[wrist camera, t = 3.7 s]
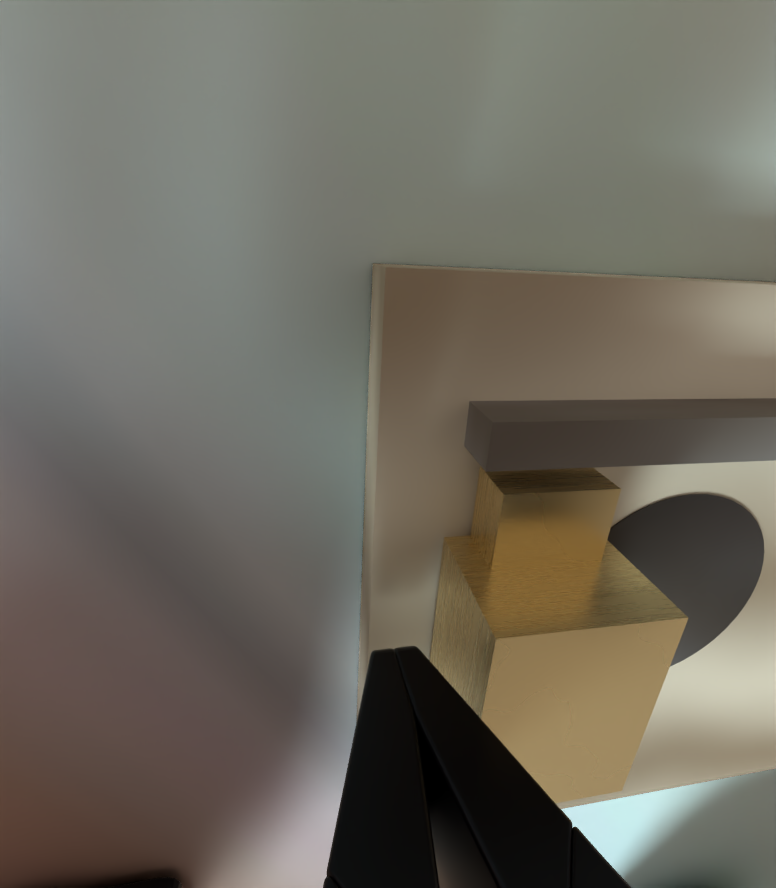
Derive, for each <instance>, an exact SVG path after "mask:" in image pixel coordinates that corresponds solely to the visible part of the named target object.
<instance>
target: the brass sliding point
mask: <svg viewBox="0 0 776 888" xmlns="http://www.w3.org/2000/svg"><path fill="white" fill-rule="evenodd" d="M620 492H621V488H619V487H618V486H617V485H615V484H614V483H613V482H611V481H610V480H609V479H607V478H606V477H605V476H603V475H602V474H601V473H599V472H598V471H597V470H596V469H594V468H570V469H545V470H519V471H494V472H485V470H484V469H483V468H482V467H481V466H480V470H479V477H478V485H477V492H476V499H475V506H474V513H473V520H472V527H471V535H470V536H454V537H444V542H443V551H442V559H441V568H440V577H439V585H438V594H437V603H436V612H435V620H434V629H433V638H432V646H431V655H430V662H431V663H432V664H433V665H434V666H435V667H436V668H437V670H438V671H439V672H440V673H441V674H442V675H443V676H444V678H445V679H446V680H447V681H448V682H449V683H450V684H451V685H452V687H453V688H454V689H455V690H456V691H457V692H458V693H459V695H460V696H461V697H462V698H463V699H464V700H465V701H466V702H467V704H468V705H469V706H470V707H471V708H472V709H473V710H474V712H475V713H476V714H477V715H478V716H479V717H480V718H481V719H482V721H483V722H484V723H485V724H486V725H487V726H488V727H489V729H490V730H491V731H492V732H493V733H494V734H495V735H496V736H497V738H498V739H499V740H500V741H501V742H502V743H503V744H504V746H505V747H506V748H507V749H508V750H509V751H510V752H511V753H512V755H513V756H514V757H515V758H516V759H517V760H518V761H519V763H520V764H521V765H522V766H523V767H524V768H525V769H526V770H527V772H528V773H529V774H530V775H531V776H532V777H533V778H534V780H535V781H536V782H537V783H538V784H539V785H540V786H541V787H542V789H543V790H544V791H545V792H546V793H547V794H548V795H549V797H550V798H551V799H552V800H553V801H554V802H555V803H560V802H565V801H571V800H576V799H582V798H587V797H592V796H598V795H603V794H609V793H614V792H619V791H622V790H623V787H624V784H625V782H626V779H627V777H628V774H629V771H630V769H631V766H632V764H633V761H634V758H635V756H636V753H637V751H638V748H639V745H640V743H641V740H642V738H643V735H644V732H645V730H646V727H647V725H648V722H649V719H650V717H651V714H652V712H653V709H654V706H655V704H656V701H657V699H658V696H659V693H660V691H661V688H662V686H663V683H664V680H665V678H666V675H667V673H668V670H669V667H670V665H671V662H672V660H673V657H674V655H675V652H676V649H677V647H678V644H679V642H680V639H681V636H682V634H683V631H684V629H685V626H686V623H687V621H688V617H687V616H686V615H685V614H684V613H683V612H682V611H681V610H680V609H679V608H678V607H677V606H676V605H675V604H674V603H673V602H671V601H670V600H669V599H668V598H667V597H666V596H665V595H664V594H663V593H662V592H661V591H660V590H659V589H658V588H657V587H656V586H655V585H654V584H653V583H652V582H651V581H650V580H648V579H647V578H646V577H645V576H644V575H643V574H642V573H641V572H640V571H639V570H638V569H637V568H636V567H635V566H634V565H633V564H632V563H631V562H630V561H629V560H628V559H627V558H625V557H624V556H623V555H622V554H621V553H620V552H619V551H618V550H617V549H616V548H615V547H614V546H613V545H612V544H611V543H610V542H609V541H608V540H607V539H608V535H609V532H610V528H611V524H612V521H613V517H614V513H615V510H616V506H617V503H618V499H619V495H620Z"/></svg>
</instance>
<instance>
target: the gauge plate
mask: <svg viewBox="0 0 776 888" xmlns="http://www.w3.org/2000/svg"><path fill="white" fill-rule="evenodd" d="M480 466H481V467H482V468H483V469H484V470H485V472H494V471H519V470H545V469H570V468H594V469H596V470H597V471H598V472H599V473H601V474H602V475H603V476H605V477H606V478H607V479H609V480H610V481H611V482H613V483H614V484H615V485H617V486H618V487H619V488H621V492H620V495H619V499H618V503H617V506H616V510H615V513H614V517H613V521H612V524H611V528H610V532H609V535H608V539H607V540H608V541H609V542H610V543H611V544H612V545H613V546H614V547H615V548H616V549H617V550H618V551H619V552H620V553H621V554H622V555H623V556H624V557H625V558H627V559H628V560H629V561H630V562H631V563H632V564H633V565H634V566H635V567H636V568H637V569H638V570H639V571H640V572H641V573H642V574H643V575H644V576H645V577H646V578H647V579H648V580H650V581H651V582H652V583H653V584H654V585H655V586H656V587H657V588H658V589H659V590H660V591H661V592H662V593H663V594H664V595H665V596H666V597H667V598H668V599H669V600H670V601H671V602H673V603H674V604H675V605H676V606H677V607H678V608H679V609H680V610H681V611H682V612H683V613H684V614H685V615H686V616H687V617H688V621H687V623H686V626H685V629H684V631H683V634H682V636H681V639H680V642H679V644H678V647H677V649H676V652H675V655H674V657H673V660H672V662H671V665H670V667H669V670H668V673H667V675H666V678H665V680H664V683H663V686H662V688H661V691H660V693H659V696H658V699H657V701H656V704H655V706H654V709H653V712H652V714H651V717H650V719H649V722H648V725H647V727H646V730H645V732H644V735H643V738H642V740H641V743H640V745H639V748H638V751H637V753H636V756H635V758H634V761H633V764H632V766H631V769H630V771H629V774H628V777H627V779H626V782H625V784H624V787H623V790H622V791H619V792H614V793H609V794H603V795H598V796H592V797H587V798H582V799H576V800H571V801H565V802H560V803H556V804H557V806H558V807H559V808H560V809H563V808H568V807H574V806H579V805H584V804H590V803H595V802H600V801H606V800H611V799H616V798H622V797H627V796H632V795H638V794H643V793H648V792H654V791H659V790H664V789H670V788H675V787H680V786H685V785H691V784H696V783H701V782H707V781H712V780H717V779H723V778H728V777H733V776H739V775H744V774H749V773H755V772H760V771H765V770H771V769H776V282H763V281H742V280H720V279H699V278H677V277H656V276H635V275H613V274H592V273H570V272H549V271H527V270H506V269H485V268H463V267H442V266H420V265H399V264H377V263H373V267H372V296H371V324H370V353H369V381H368V410H367V438H366V466H365V495H364V523H363V552H362V580H361V609H360V637H359V666H358V694H357V719H358V714H359V709H360V704H361V699H362V694H363V689H364V684H365V679H366V674H367V669H368V664H369V659H370V655H371V652H372V651H373V650H380V649H388V648H392V649H395V648H397V647H405V646H416V647H418V648H419V649H420V650H421V651H422V653H423V654H424V655H425V656H426V657H427V658H428V659H429V661H430V655H431V646H432V638H433V629H434V620H435V612H436V603H437V594H438V585H439V577H440V568H441V559H442V551H443V542H444V537H454V536H470V535H471V527H472V520H473V513H474V506H475V499H476V492H477V485H478V477H479V470H480ZM356 724H357V722H356Z"/></svg>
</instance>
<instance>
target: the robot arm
mask: <svg viewBox="0 0 776 888" xmlns="http://www.w3.org/2000/svg"><path fill="white" fill-rule="evenodd" d="M109 888H182V884H181V883H180V881H179V880H177V879H175V878H168V877H166V878H157V879H152V880H146V881H141V882H136V883H130V884H125V885H119V886H114V887H109ZM323 888H631V887H630V886H629V885H628V884H627V882H626V881H625V880H624V879H623V878H622V877H621V876H620V875H619V874H618V873H617V872H616V870H615V869H614V868H613V867H612V866H611V865H610V864H609V863H608V862H607V861H606V860H605V859H604V857H603V856H602V855H601V854H600V853H599V852H598V851H597V850H596V849H595V847H594V846H593V845H592V844H591V843H590V842H589V841H588V839H587V838H586V837H585V836H584V835H583V834H582V833H581V831H580V830H579V829H578V828H577V827H573V828H572V822H571V820H570V819H569V818H568V817H567V816H566V815H565V814H564V812H563V811H562V810H561V809H560V808H559V807H558V806H557V804H556V803H555V802H554V801H553V800H552V799H551V798H550V797H549V795H548V794H547V793H546V792H545V791H544V790H543V789H542V787H541V786H540V785H539V784H538V783H537V782H536V781H535V780H534V778H533V777H532V776H531V775H530V774H529V773H528V772H527V770H526V769H525V768H524V767H523V766H522V765H521V764H520V763H519V761H518V760H517V759H516V758H515V757H514V756H513V755H512V753H511V752H510V751H509V750H508V749H507V748H506V747H505V746H504V744H503V743H502V742H501V741H500V740H499V739H498V738H497V736H496V735H495V734H494V733H493V732H492V731H491V730H490V729H489V727H488V726H487V725H486V724H485V723H484V722H483V721H482V719H481V718H480V717H479V716H478V715H477V714H476V713H475V712H474V710H473V709H472V708H471V707H470V706H469V705H468V704H467V702H466V701H465V700H464V699H463V698H462V697H461V696H460V695H459V693H458V692H457V691H456V690H455V689H454V688H453V687H452V685H451V684H450V683H449V682H448V681H447V680H446V679H445V678H444V676H443V675H442V674H441V673H440V672H439V671H438V670H437V668H436V667H435V666H434V665H433V664H432V663H431V662H430V661H429V659H428V658H427V657H426V656H425V655H424V654H423V653H422V651H421V650H420V649H419V648H418V647H416V646H405V647H397V648H395V649H392V648H388V649H380V650H373V651H372V652H371V655H370V659H369V664H368V669H367V674H366V679H365V684H364V689H363V694H362V699H361V704H360V709H359V714H358V719H357V724H356V729H355V733H354V738H353V743H352V748H351V753H350V758H349V763H348V768H347V773H346V778H345V783H344V788H343V793H342V798H341V803H340V808H339V813H338V818H337V823H336V828H335V832H334V837H333V842H332V847H331V852H330V857H329V862H328V867H327V877H326V878H325V881H324V885H323Z"/></svg>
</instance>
